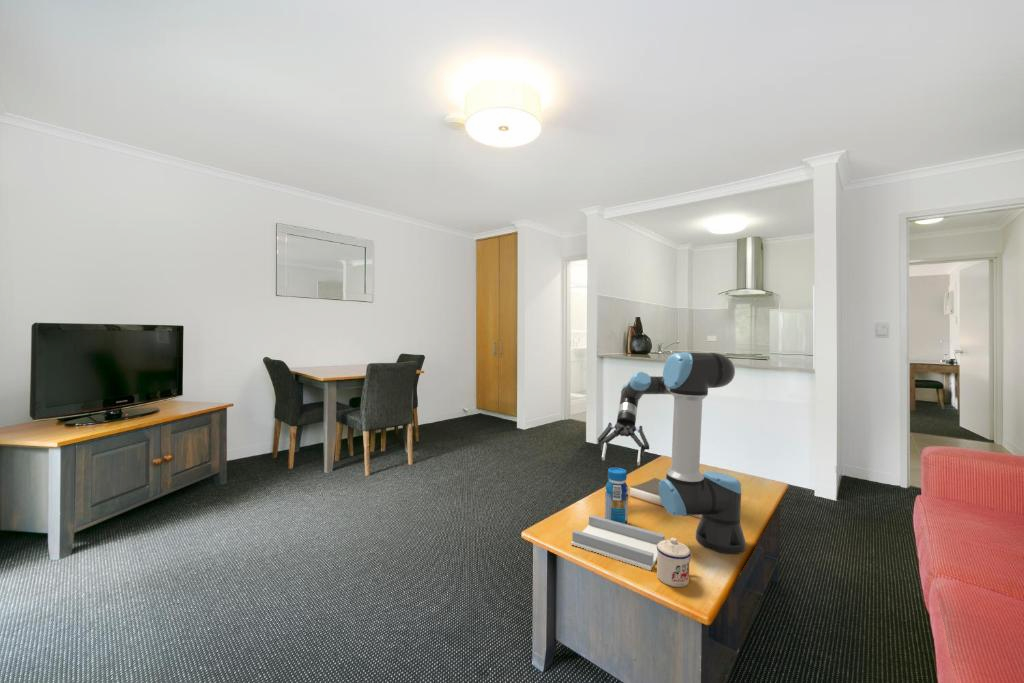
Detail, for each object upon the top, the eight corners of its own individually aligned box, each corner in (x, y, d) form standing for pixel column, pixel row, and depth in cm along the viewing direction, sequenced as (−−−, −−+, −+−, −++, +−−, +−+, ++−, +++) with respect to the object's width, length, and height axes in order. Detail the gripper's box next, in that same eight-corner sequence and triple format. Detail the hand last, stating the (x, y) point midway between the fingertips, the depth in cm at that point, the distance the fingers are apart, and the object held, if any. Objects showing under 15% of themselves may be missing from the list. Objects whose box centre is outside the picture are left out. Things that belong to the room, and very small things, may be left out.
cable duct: (665, 545, 140) (665, 533, 139) (650, 570, 124) (651, 557, 124) (592, 524, 154) (592, 513, 154) (571, 545, 139) (571, 533, 139)
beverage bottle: (599, 522, 156) (600, 469, 155) (614, 516, 161) (615, 465, 160) (617, 531, 149) (619, 475, 149) (632, 524, 154) (633, 471, 154)
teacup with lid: (674, 591, 115) (675, 550, 114) (649, 574, 123) (650, 535, 122) (703, 579, 120) (704, 540, 120) (677, 564, 128) (678, 526, 128)
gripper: (658, 424, 174) (654, 470, 161) (598, 418, 184) (590, 461, 171) (657, 413, 169) (653, 460, 156) (596, 408, 179) (587, 452, 166)
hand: (620, 461), depth 163 cm, fingers open, 13 cm apart
